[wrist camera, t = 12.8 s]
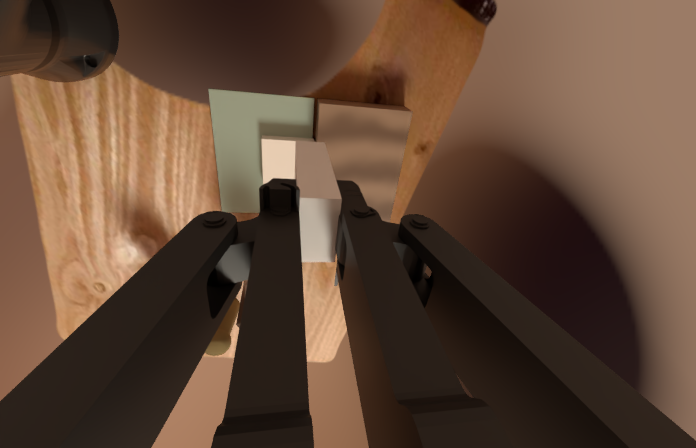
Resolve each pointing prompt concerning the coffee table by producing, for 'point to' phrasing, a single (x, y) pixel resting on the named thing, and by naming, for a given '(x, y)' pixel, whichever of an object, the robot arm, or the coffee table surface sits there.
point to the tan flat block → (365, 146)
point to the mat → (251, 139)
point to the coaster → (279, 157)
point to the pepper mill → (224, 332)
